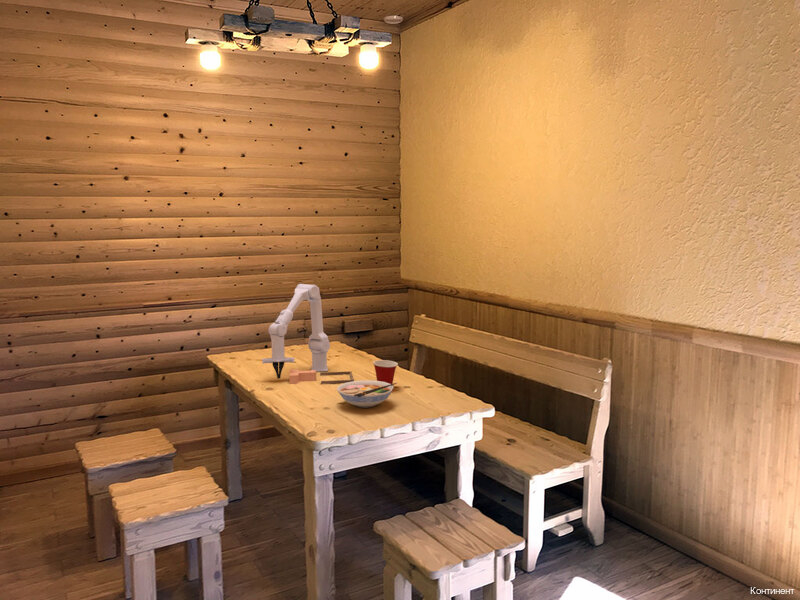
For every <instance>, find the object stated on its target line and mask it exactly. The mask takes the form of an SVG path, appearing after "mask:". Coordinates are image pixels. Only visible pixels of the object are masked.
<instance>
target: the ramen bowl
mask: <svg viewBox="0 0 800 600" xmlns="http://www.w3.org/2000/svg"><path fill="white" fill-rule="evenodd" d="M397 384H398V382H394V383H393V384H389V383H386V382H381V381H377V380H367V379H366V380H354V381H352V382H347V383H340V385H338V386H337V387H336V390H337V392H338V394H339V395H340V396H341V398H342V399H343V400H344V401H345V402H346V403H348V404H351V405H353V406H355V407H357V408H363V409H366V408H368V409H369V408H372V407H374V406H377V405H380V404H381V403H383V402H385V401H386V400H388V399H389V397H390V395H391V393H392V391H393V390H394V385H397Z"/></svg>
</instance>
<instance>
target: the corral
mask: <svg viewBox="0 0 800 600" xmlns="http://www.w3.org/2000/svg"><path fill="white" fill-rule="evenodd" d="M343 374H346V375H349V378H350V379H342V380H341V379H339V380H338V379H337V380H320V384H321V385H332V384H333V385H334V384H335V383H338V384H344V383H347V382H352V381H355V379H354V375H353V372H352V371H351V370H350V371H321V372H319V376H343Z"/></svg>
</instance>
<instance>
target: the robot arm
mask: <svg viewBox="0 0 800 600" xmlns="http://www.w3.org/2000/svg"><path fill="white" fill-rule="evenodd" d="M303 301H308V302H309V307H310V311H309V312H310V322H311V323H310V324H311V334H310V335H309V336H308V343H307V346H308V349H309V350H310V353H311V368H310V369H311V370H316V372H329V367H328V362H327V361H328V357H327V356H328V351H329V350H330V347H331V343H330V340H329V336H328V335H327V334H326V333H325V332H324V322H323V320H324V319H323V309H322V308H323V307H322V306H323V305H322V298H321V294H320V287H318V286H317V285H316V284H307V283H306V284H305V283H299V284H297V286H296V287H295V289H294V294H293V296H292V298H291V299H290V301H289V303H288V306H287V308H285V309H282V310H281V311H280V313H279V315H278V317H277V318H276V319H275V321H274V322H273V323H271V324H270V326H269V327H268V329H267V330H268V333H269V334H268V335H270V339H271V357H269V358H268V357H267V358H261V360H262V361H261V362H262V365H264V364H272V367H273V369H274V372H275V374H276V378H277V379H279V380H280V379H281V375H282V372H283V368H284V367H285V363H286V364H287V363H295V357H285V354H286V353H285V335H286V334H287V332H288V328H289V327H288V326H289V324H290V323H291V321H292V320H293V318H294V312H295V311H296V309H297V308H298V307H299V305H300V304H301V303H302V302H303ZM311 370H310V371H311Z"/></svg>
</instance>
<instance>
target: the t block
mask: <svg viewBox="0 0 800 600" xmlns="http://www.w3.org/2000/svg"><path fill="white" fill-rule="evenodd" d="M288 376H289V385H298V384H297V383H300V382H317V371H316V370H299V368H290V369H289V375H288Z"/></svg>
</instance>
